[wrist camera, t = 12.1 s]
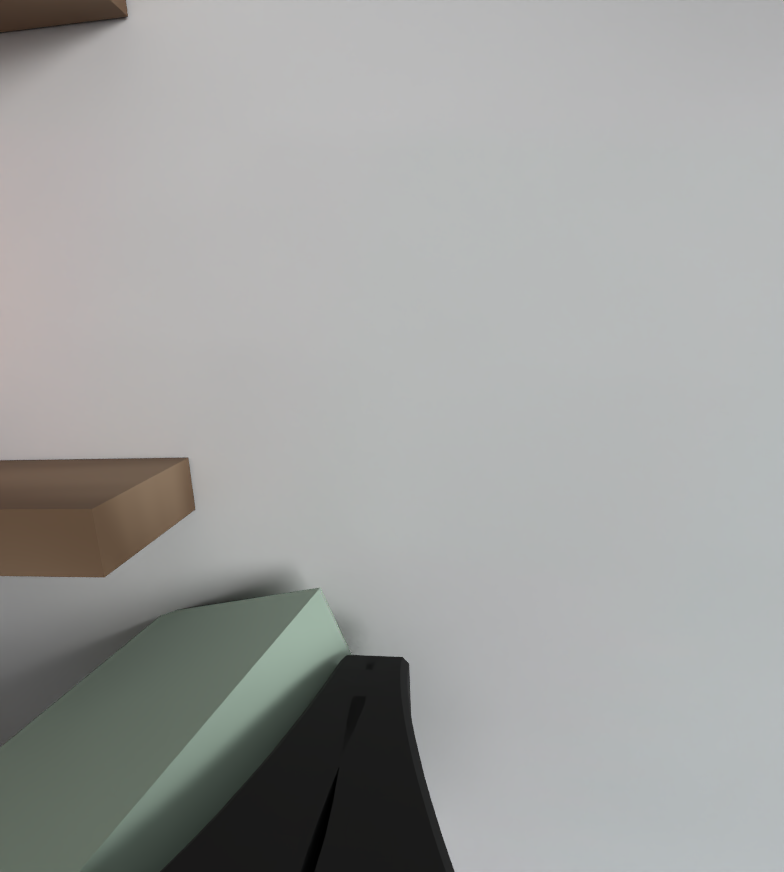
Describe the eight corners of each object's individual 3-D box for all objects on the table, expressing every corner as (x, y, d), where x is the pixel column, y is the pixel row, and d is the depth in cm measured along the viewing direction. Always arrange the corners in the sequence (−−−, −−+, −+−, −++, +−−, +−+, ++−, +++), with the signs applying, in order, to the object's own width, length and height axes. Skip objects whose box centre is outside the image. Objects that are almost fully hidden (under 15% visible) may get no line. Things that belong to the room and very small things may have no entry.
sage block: (408, 776, 9) (228, 1251, 5) (248, 769, 11) (15, 1106, 7) (320, 587, 9) (18, 942, 4) (165, 611, 10) (-158, 876, 6)
